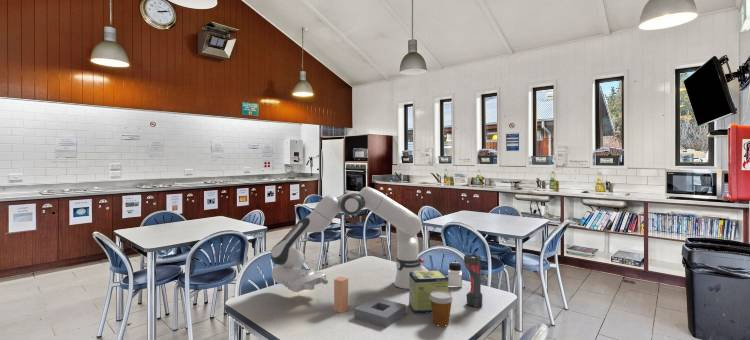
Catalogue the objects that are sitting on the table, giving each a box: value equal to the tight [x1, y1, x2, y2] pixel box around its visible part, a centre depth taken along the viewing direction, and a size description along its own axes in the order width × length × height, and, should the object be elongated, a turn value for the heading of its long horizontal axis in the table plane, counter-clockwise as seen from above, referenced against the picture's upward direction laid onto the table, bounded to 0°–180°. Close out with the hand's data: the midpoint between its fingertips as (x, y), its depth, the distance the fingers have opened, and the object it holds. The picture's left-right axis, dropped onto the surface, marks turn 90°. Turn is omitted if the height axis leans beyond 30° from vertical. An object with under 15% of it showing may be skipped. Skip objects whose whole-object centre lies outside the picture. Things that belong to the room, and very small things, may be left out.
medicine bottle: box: [447, 261, 463, 288], centre depth 199 cm, size 7×7×12 cm
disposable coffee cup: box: [429, 291, 454, 327], centre depth 153 cm, size 10×10×12 cm
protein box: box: [408, 270, 449, 314], centre depth 168 cm, size 10×16×16 cm
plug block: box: [333, 276, 349, 314], centre depth 166 cm, size 4×4×14 cm
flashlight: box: [463, 253, 483, 307], centre depth 173 cm, size 8×8×23 cm
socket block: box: [353, 296, 407, 329], centre depth 160 cm, size 16×16×4 cm
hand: (320, 284), depth 173 cm, fingers open, 8 cm apart
